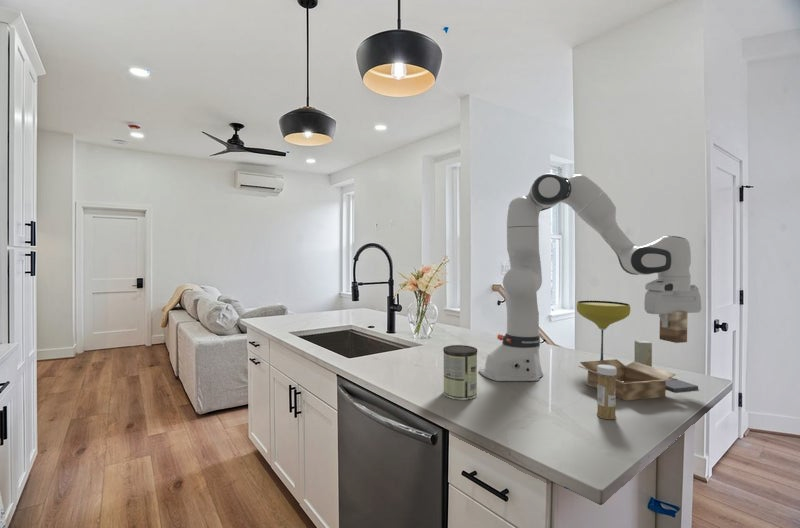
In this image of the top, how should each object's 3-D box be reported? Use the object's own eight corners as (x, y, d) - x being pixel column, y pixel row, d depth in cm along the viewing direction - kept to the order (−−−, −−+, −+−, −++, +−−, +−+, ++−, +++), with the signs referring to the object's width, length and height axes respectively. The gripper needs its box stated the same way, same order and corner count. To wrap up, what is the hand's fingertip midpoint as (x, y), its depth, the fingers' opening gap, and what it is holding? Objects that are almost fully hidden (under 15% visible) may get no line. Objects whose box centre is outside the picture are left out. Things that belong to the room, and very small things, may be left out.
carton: (624, 406, 112) (625, 383, 112) (570, 381, 134) (570, 362, 134) (687, 399, 118) (687, 377, 118) (625, 376, 140) (625, 358, 140)
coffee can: (446, 387, 127) (447, 343, 127) (479, 391, 124) (479, 346, 124) (439, 397, 118) (439, 350, 117) (474, 402, 114) (474, 353, 114)
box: (652, 373, 144) (652, 343, 144) (639, 372, 145) (639, 342, 145) (646, 369, 150) (646, 340, 149) (633, 368, 151) (634, 339, 150)
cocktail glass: (616, 379, 137) (617, 307, 137) (566, 367, 151) (567, 302, 151) (637, 370, 149) (638, 303, 148) (589, 360, 163) (590, 299, 162)
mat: (673, 391, 125) (673, 388, 125) (646, 381, 134) (646, 379, 134) (698, 389, 127) (698, 386, 127) (669, 379, 137) (669, 376, 137)
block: (676, 342, 127) (676, 311, 127) (659, 339, 133) (660, 309, 133) (687, 342, 128) (687, 311, 128) (670, 338, 134) (670, 309, 134)
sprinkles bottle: (617, 421, 102) (618, 369, 102) (598, 418, 103) (598, 367, 103) (613, 414, 106) (614, 364, 106) (595, 412, 108) (595, 363, 107)
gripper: (688, 284, 136) (688, 324, 136) (641, 284, 131) (640, 326, 131) (707, 285, 130) (706, 327, 130) (658, 286, 124) (657, 329, 125)
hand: (673, 326), depth 130 cm, fingers closed on block, 4 cm apart
